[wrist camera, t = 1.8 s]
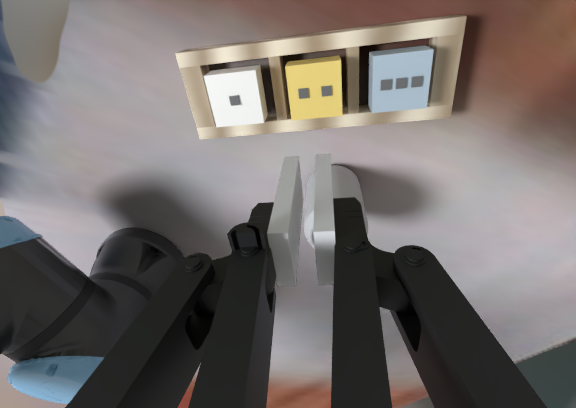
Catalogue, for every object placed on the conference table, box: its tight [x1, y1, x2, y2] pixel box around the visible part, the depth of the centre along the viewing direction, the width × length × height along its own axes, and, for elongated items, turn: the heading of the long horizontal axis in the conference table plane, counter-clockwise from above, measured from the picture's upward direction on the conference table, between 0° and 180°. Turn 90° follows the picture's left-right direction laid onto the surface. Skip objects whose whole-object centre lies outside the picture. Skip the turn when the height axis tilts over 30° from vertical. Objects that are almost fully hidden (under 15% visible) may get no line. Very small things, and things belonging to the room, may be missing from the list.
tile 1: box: [204, 65, 268, 127], centre depth 35 cm, size 6×6×3 cm
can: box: [304, 165, 368, 249], centre depth 40 cm, size 8×8×12 cm
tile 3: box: [368, 45, 434, 113], centre depth 33 cm, size 6×6×3 cm
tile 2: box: [285, 55, 343, 121], centre depth 34 cm, size 6×6×3 cm
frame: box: [175, 15, 467, 139], centre depth 36 cm, size 30×10×3 cm, turn 97°
